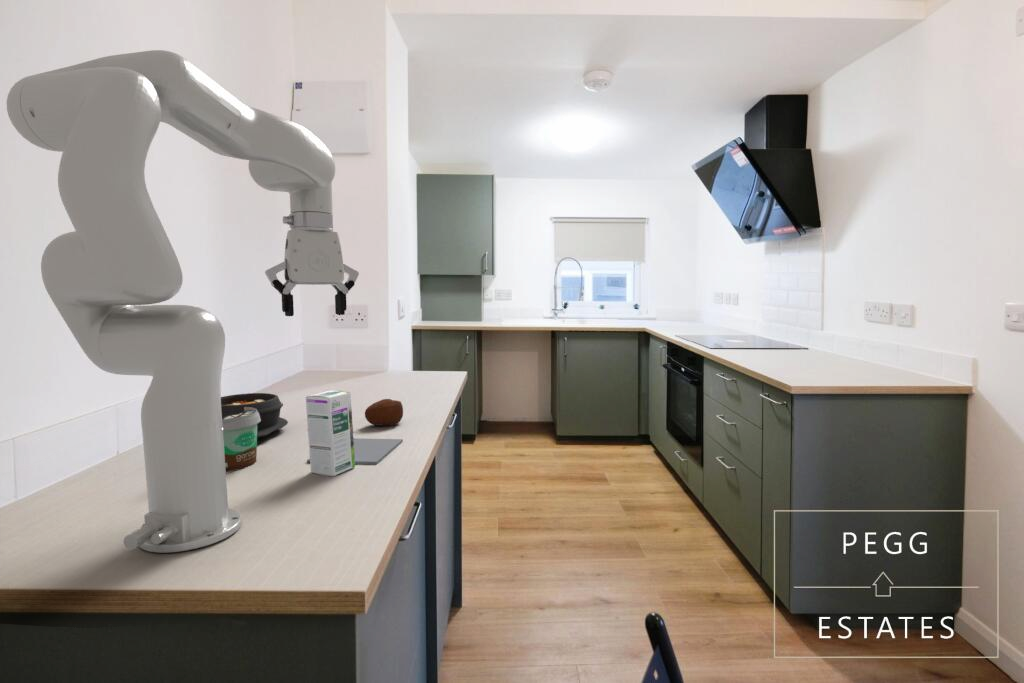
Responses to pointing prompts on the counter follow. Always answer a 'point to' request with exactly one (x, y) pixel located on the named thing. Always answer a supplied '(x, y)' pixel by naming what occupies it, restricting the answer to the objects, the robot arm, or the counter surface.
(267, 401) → the casserole
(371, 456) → the mat
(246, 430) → the food container
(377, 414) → the potato
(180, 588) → the counter surface
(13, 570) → the counter surface
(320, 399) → the syrup box
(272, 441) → the counter surface
